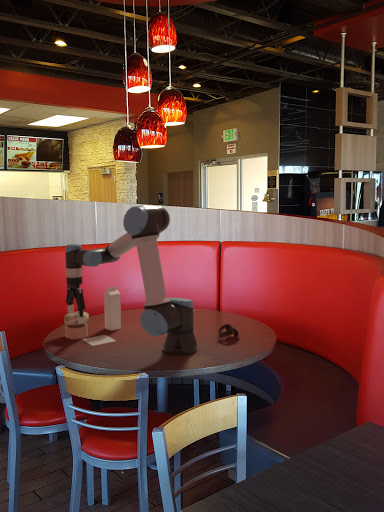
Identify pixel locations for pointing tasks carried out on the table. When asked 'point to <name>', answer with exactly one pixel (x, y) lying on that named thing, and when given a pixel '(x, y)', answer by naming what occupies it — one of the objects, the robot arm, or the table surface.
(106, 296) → the milk
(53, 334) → the table surface
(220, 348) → the table surface
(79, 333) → the terracotta bowl
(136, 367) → the table surface
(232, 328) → the pottery mug
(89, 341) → the silicone mat
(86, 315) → the brass lid
